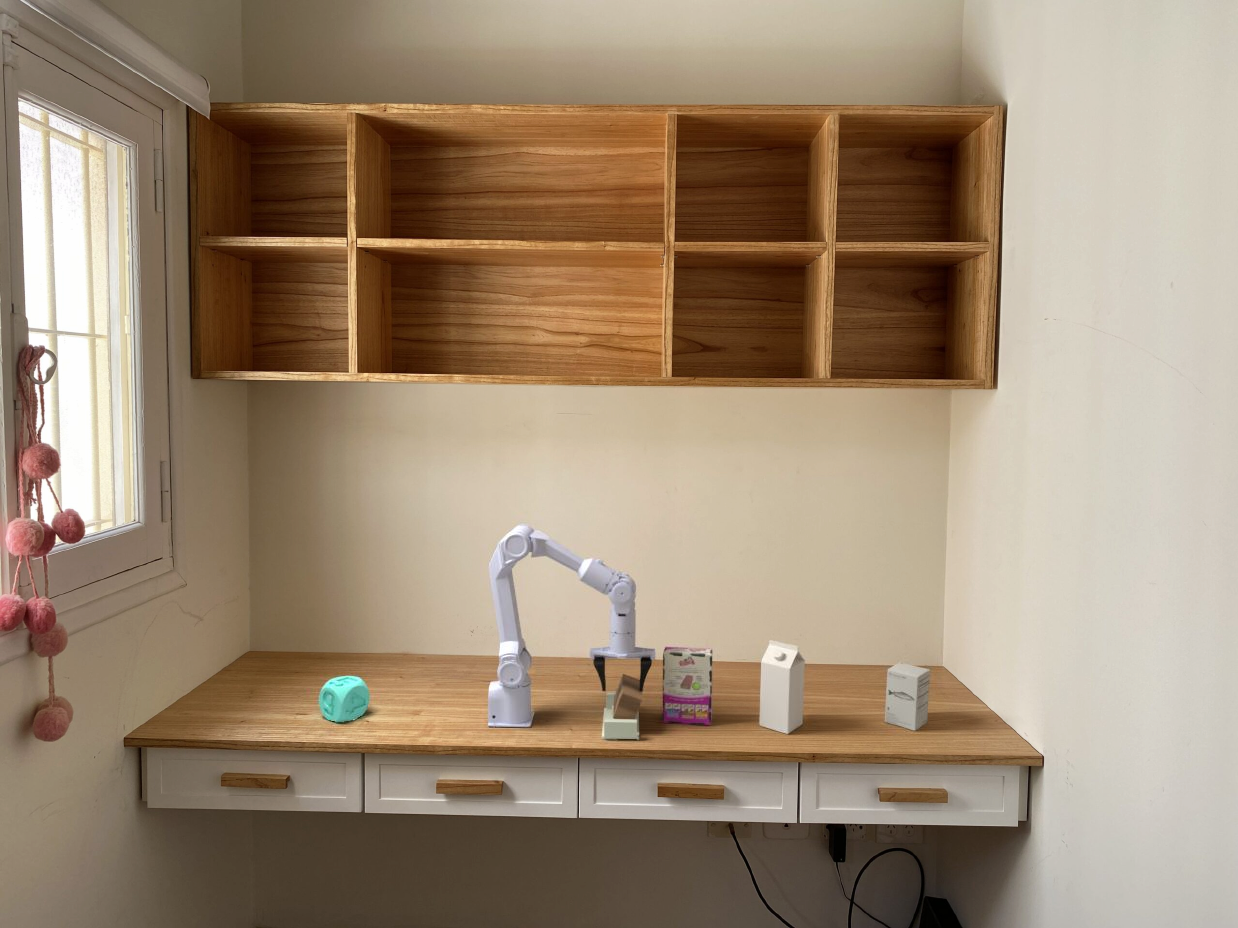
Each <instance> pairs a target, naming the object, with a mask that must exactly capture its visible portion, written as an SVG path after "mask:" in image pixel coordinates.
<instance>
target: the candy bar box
mask: <svg viewBox="0 0 1238 928" xmlns="http://www.w3.org/2000/svg"><path fill="white" fill-rule="evenodd" d="M713 653H714V652H713V648H702V647H679V646H665V647H664V650H663V653H662V717H661V718H662V723H664V724H676V725H677V724H679V725H698V726H712V716H713Z"/></svg>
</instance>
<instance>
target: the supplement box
mask: <svg viewBox="0 0 1238 928" xmlns="http://www.w3.org/2000/svg"><path fill="white" fill-rule="evenodd" d="M931 671H932V670H931V669H929V668H925V667H920V666H917V665H912V664H909V663H904V662H901V661H900V662H898V663H896V664H894V665H893V666H890V667H889V668H887V674H886V689H885V690H886V691H885V692H886V693H885V707H884V708H885V709H884V710H885V711H884V723H887V724H891V725H894V726H898V727H902V728H904V729H908V730H911V731H913V732H916V731H917V730H919V729H920V728H921V727H923V726H924V725H926V724H927V723H928V716H929V715H928V713H929V702H930V701H929V700H930V699H929V698H930V697H929V696H930V685H931V684H930V683H931V682H930V680H931ZM922 725H923V726H922Z"/></svg>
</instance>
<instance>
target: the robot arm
mask: <svg viewBox="0 0 1238 928" xmlns="http://www.w3.org/2000/svg"><path fill="white" fill-rule="evenodd" d="M530 553H531V555H530V558H539V557H541V558H542V557H547V558H549V559H550V560H553V561H554V562H557V563H559V564H560V565H562V566H564V567H566V568H568V569H570V570H572V571H574V572H576V573H577V576H578V578H579V581H580V582H582V583H584V584H585V585H586V586H589V587H591V588H592V589H594V590H595V591H598V592H599V593H601V594H602V595H605V596H608V599H609V601H610V610H609V646H604V647H597V648H596V647H594V648H593V647H590V648H589V660H593V667H594V668H595V670H596V673H597V675H598V678H599V681H600V685H601V690H602V692H606V687H607V685H606V684H607V682H606V659H615V660H616V659H618V660H619V659H622V660H623V659H624V660H625V659H626V660H627V659H629V660H631V659H632V660H633V659H635V660H636V659H637V660H638V659H639V661H640V671H639V672H640V674H639V676H640V677H639V680H640V691H641V692H643V691H644V685H645V682H646V678H647V675H648V673H649V671H650V669H651V666H652V664H653V661H654V660H656V649H655V648H648V647H647V648H646V647H637V646H636V622H637V621H636V618H637V617H636V609H635V608H636V601H635V600H636V596H637V592H636V591H637V585H636V582H635V580H634V579H633V578H632V577H631V576H630V575H629V573H628V574H627V573H622V572H623V571H620V570H619V569H618V570H617V571H616V570H614V569H613V568H611V567H610V566H608V565H606V564H604V560H603V559H601V558H598V559H595V558H593V557H591V558H586V559H585V558H583V557H581V556H580V555H578V554H577V553H575V552H573V551H572V550H570V549H569V548H567V547H566V546H564V545H563V544H561V543H560V542H558V541H557V540H555V539H553V538H551V537H550V536H548V535H547V534H546V533H544V532H542V531H541V530H538V529H534V528H533V527H532V526H530V525H528V524H523V523H521V524H518V525H516V526H514V527H513V528H512V529H511V530H510V531H509V532H508V533H507V534H506V535H505V536H504V537H503V538H501V540H500V541H499V542H498V543H497V546H496V549H495V551H494V553H493V555H492V557H491V559H490V562H489V563H488V573H489V581H490V584H491V585H490V587H491V593H492V599H493V604H494V611H495V617H496V618H495V619H496V625H497V631H498V638H499V653H498V661H499V664H498V667H497V671H496V675H497V678H498V680H494V681H493V680H492V681H490V683H489V686H488V694H487V695H488V698H487V701H488V702H487V705H488V706H487V714H488V715H487V717H488V718H487V721H488V723H487V726H488V727H495V726H496V728H497V727H503V728H505V727H507V728H510V727H511V728H530V727H532V722H533V719H534V716H535V711H532V679H531V677H530V675H529V673H528V671H529V670H530V669H531V667H532V663H533V658H532V655H531V653H530V652H529V651H528V649H527V646H526V641H525V639H524V638H523V634H522V628H521V621H520V615H519V610H518V609H519V608H518V603H517V594H516V589H515V583H514V582H515V581H514V575H513V568H514V567H515V565H516V564H517V563H518V562H520V561H522V560H523V559H524V558H526V557H527V556H528V555H529V554H530Z"/></svg>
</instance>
